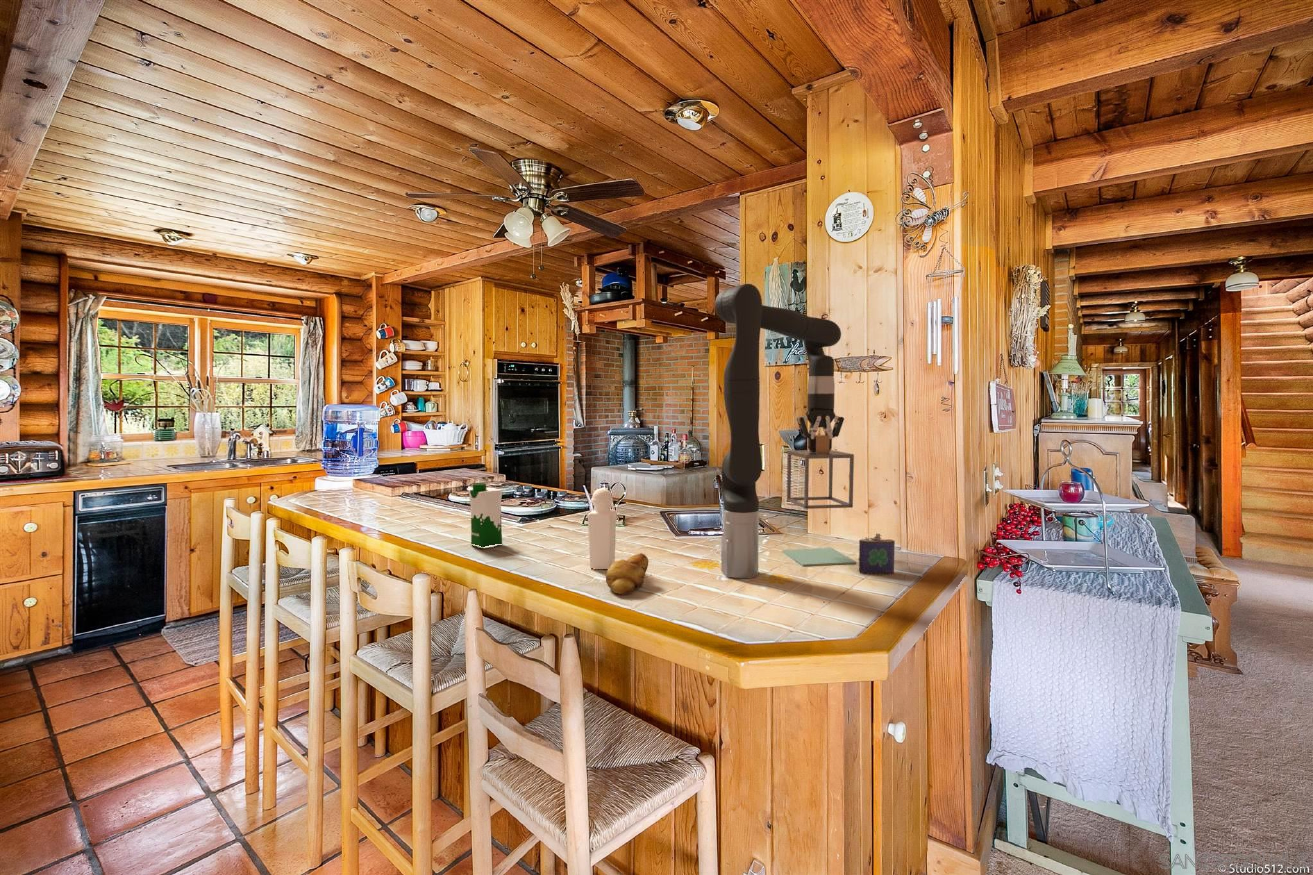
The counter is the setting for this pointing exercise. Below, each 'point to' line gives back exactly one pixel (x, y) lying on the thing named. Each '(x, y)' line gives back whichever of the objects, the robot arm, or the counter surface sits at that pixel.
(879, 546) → the flask
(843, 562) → the mat
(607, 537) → the beige bottle
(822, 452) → the metal frame side table
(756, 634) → the counter surface
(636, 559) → the bread roll
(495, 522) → the milk carton
